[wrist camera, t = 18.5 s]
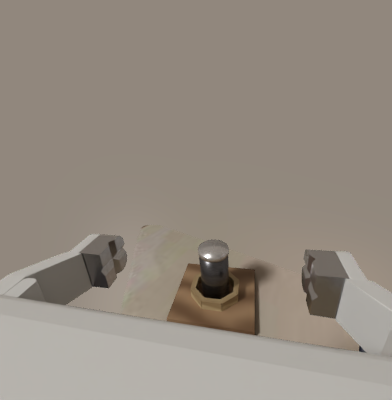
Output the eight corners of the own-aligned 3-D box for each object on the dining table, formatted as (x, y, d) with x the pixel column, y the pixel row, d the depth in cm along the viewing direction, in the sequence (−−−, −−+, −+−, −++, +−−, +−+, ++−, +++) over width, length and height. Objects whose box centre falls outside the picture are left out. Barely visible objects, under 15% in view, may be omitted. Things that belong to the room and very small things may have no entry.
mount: (188, 267, 58) (187, 256, 57) (254, 273, 54) (254, 262, 53) (167, 322, 44) (165, 310, 43) (254, 336, 40) (255, 323, 39)
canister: (217, 277, 52) (215, 236, 48) (235, 293, 48) (234, 249, 43) (196, 289, 49) (192, 247, 45) (213, 307, 45) (210, 262, 40)
